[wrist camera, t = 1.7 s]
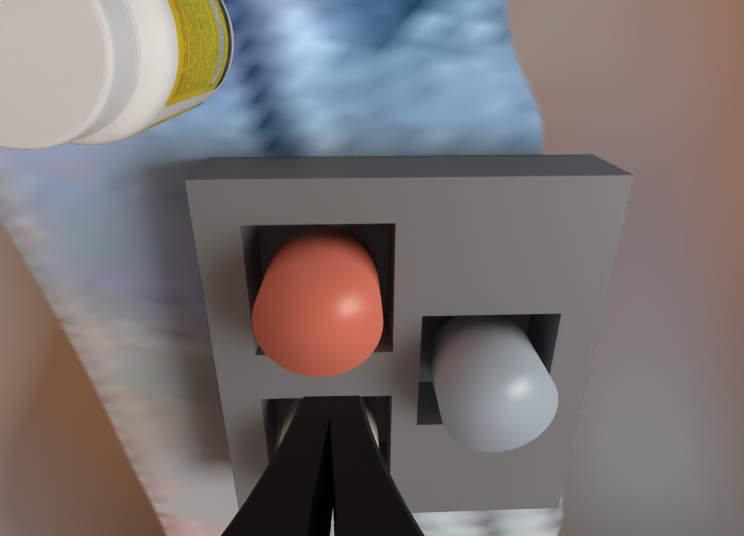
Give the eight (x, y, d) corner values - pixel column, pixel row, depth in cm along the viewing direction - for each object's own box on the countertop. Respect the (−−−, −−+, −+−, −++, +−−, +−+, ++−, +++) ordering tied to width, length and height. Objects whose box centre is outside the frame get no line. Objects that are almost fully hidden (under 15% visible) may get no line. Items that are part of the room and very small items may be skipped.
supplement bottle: (155, -89, 15) (-52, -222, 7) (266, 47, 16) (193, 57, 9) (54, 22, 16) (-219, 11, 8) (167, 139, 18) (26, 218, 10)
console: (535, 456, 25) (558, 507, 22) (252, 464, 24) (240, 518, 22) (592, 154, 18) (633, 175, 16) (209, 157, 18) (184, 179, 15)
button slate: (521, 392, 21) (548, 450, 18) (425, 394, 21) (437, 453, 18) (534, 309, 19) (567, 358, 16) (430, 311, 19) (444, 361, 16)
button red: (377, 323, 19) (382, 375, 16) (272, 325, 19) (258, 378, 16) (378, 225, 17) (384, 263, 14) (263, 226, 17) (245, 265, 14)
